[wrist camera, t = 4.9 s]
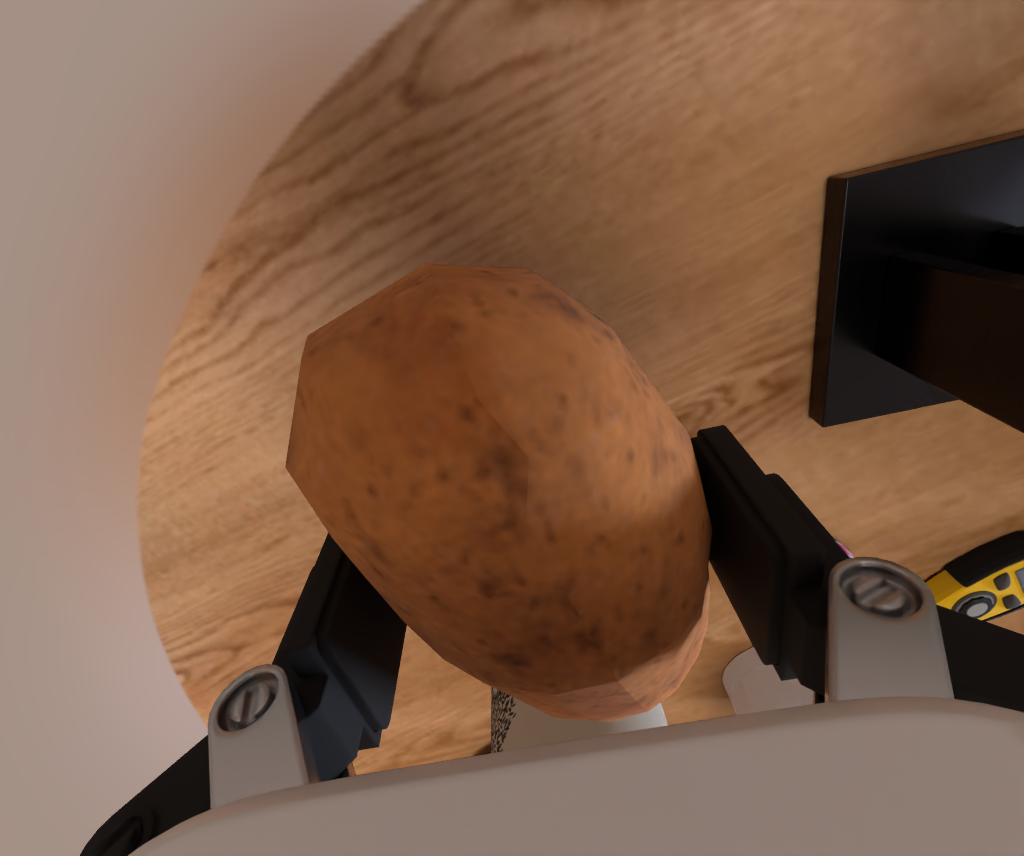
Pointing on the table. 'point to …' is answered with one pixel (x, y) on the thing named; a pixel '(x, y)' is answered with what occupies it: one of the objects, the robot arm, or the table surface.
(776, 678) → the cup
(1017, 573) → the yellow handheld meter
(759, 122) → the table surface
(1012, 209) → the bracket
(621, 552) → the potato
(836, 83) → the table surface
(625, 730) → the travel mug
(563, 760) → the robot arm
